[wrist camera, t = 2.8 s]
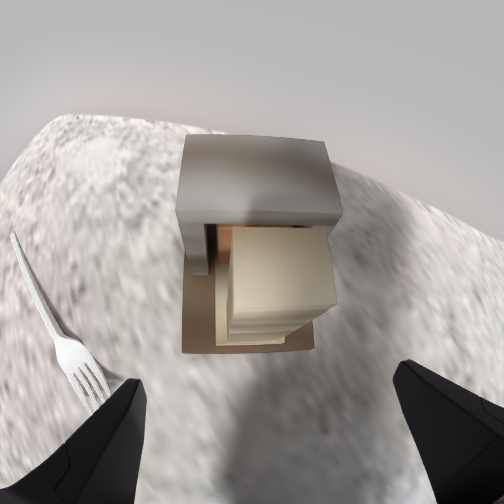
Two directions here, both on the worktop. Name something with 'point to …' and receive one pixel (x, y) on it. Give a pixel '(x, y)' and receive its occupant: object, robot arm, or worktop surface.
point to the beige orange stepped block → (269, 281)
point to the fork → (65, 343)
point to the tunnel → (245, 216)
